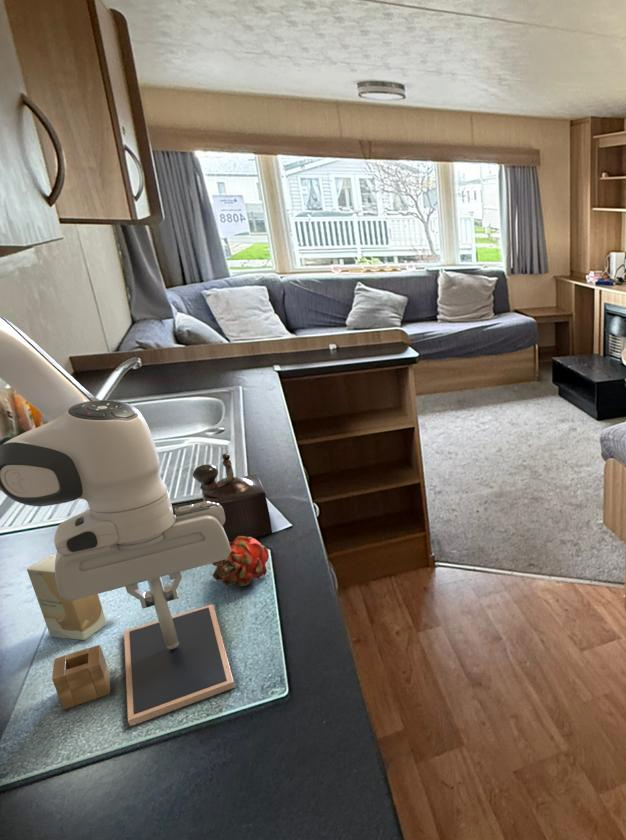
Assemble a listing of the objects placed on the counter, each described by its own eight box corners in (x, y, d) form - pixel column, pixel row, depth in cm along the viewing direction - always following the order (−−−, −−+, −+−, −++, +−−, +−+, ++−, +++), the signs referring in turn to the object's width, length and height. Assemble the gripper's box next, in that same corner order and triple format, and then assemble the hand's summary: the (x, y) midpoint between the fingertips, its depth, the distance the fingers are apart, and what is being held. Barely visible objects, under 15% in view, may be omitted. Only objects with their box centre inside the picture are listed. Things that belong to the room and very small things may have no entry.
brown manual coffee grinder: (206, 527, 131) (184, 444, 124) (266, 513, 137) (248, 433, 130) (214, 561, 119) (190, 472, 112) (279, 544, 125) (261, 458, 118)
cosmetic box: (49, 637, 99) (22, 568, 94) (74, 620, 103) (49, 553, 98) (86, 641, 98) (61, 572, 94) (110, 623, 102) (87, 556, 98)
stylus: (167, 652, 94) (140, 557, 91) (167, 649, 95) (140, 555, 92) (180, 648, 95) (154, 554, 92) (179, 645, 96) (153, 551, 93)
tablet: (129, 726, 83) (127, 720, 82) (125, 636, 99) (123, 630, 99) (235, 687, 89) (233, 681, 89) (214, 608, 106) (212, 603, 105)
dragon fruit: (240, 608, 108) (245, 580, 119) (280, 570, 110) (281, 547, 121) (197, 577, 105) (206, 552, 115) (238, 539, 106) (243, 517, 117)
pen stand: (63, 709, 85) (51, 679, 83) (65, 687, 89) (54, 658, 87) (110, 693, 88) (99, 664, 86) (110, 673, 92) (99, 644, 90)
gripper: (218, 490, 97) (237, 569, 102) (43, 528, 86) (74, 615, 91) (223, 505, 92) (243, 588, 97) (39, 548, 81) (72, 639, 86)
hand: (160, 601), depth 94 cm, fingers closed on stylus, 1 cm apart
